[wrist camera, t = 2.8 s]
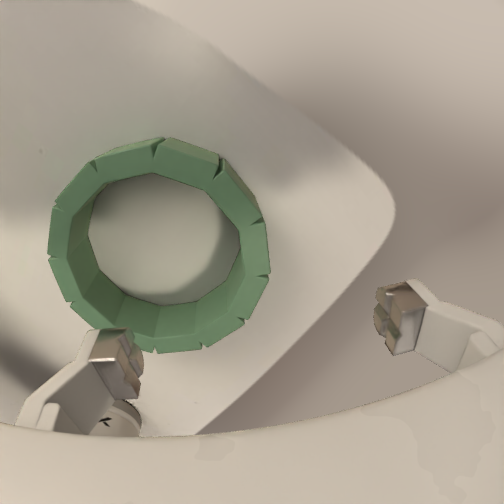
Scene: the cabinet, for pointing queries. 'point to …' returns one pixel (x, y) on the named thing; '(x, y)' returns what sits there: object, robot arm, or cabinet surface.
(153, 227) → the cabinet surface
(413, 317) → the robot arm
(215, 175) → the ring
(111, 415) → the travel mug
